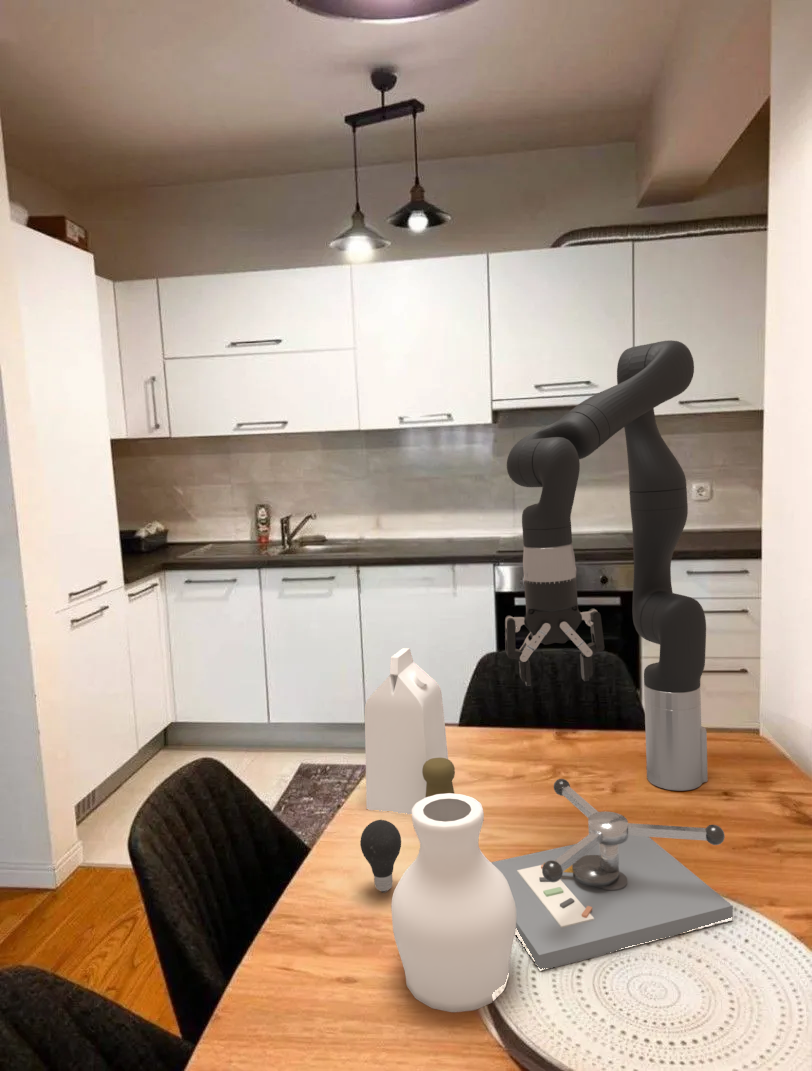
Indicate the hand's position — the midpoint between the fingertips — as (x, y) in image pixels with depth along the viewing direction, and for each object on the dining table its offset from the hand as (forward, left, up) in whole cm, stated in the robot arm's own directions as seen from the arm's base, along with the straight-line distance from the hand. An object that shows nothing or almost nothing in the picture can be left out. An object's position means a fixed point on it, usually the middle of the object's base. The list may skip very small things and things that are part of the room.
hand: (556, 681), depth 111 cm
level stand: (+3, +15, -25) cm, 29 cm away
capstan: (-1, +17, -22) cm, 28 cm away
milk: (+18, -23, -25) cm, 38 cm away
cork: (+16, -11, -25) cm, 31 cm away
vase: (+25, +22, -25) cm, 42 cm away
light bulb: (+29, +3, -25) cm, 38 cm away
